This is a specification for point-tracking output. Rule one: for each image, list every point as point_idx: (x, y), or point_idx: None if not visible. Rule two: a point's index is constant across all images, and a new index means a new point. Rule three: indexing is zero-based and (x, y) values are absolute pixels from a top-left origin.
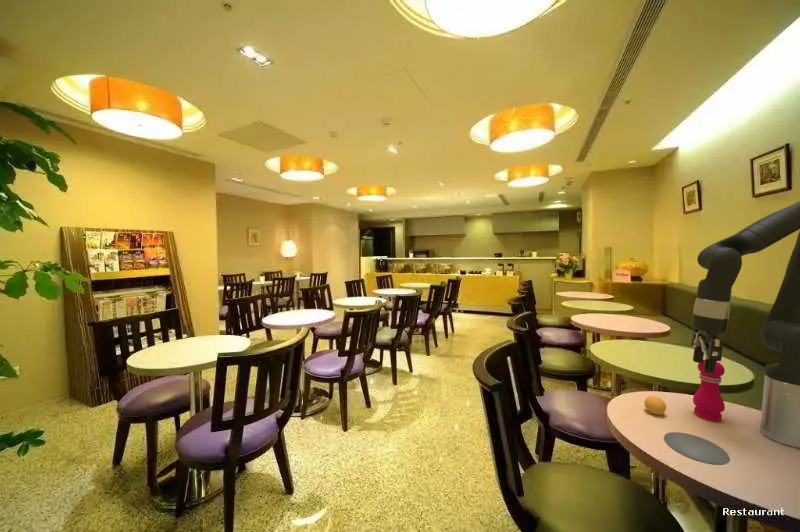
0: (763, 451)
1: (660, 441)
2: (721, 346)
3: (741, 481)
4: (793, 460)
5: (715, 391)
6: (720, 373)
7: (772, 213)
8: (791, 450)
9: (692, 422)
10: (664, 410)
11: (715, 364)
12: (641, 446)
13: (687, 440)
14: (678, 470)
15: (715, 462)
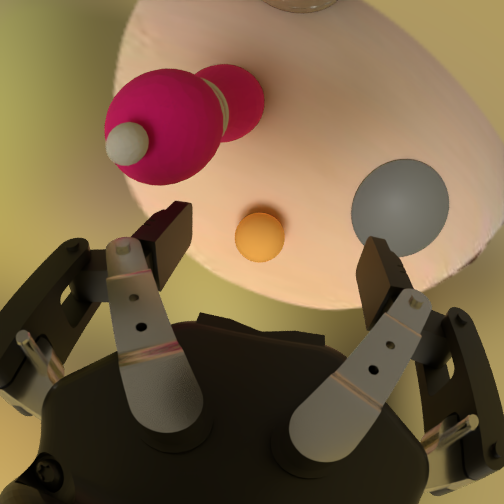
0: (390, 68)
1: None
2: (496, 417)
3: (480, 196)
4: (408, 33)
5: (230, 100)
6: (217, 100)
7: None
8: (362, 2)
9: (286, 154)
10: (279, 223)
11: (399, 272)
12: None
13: (382, 214)
14: (454, 271)
15: (445, 206)
